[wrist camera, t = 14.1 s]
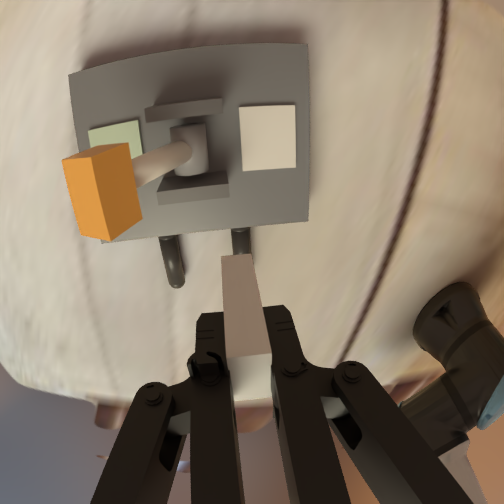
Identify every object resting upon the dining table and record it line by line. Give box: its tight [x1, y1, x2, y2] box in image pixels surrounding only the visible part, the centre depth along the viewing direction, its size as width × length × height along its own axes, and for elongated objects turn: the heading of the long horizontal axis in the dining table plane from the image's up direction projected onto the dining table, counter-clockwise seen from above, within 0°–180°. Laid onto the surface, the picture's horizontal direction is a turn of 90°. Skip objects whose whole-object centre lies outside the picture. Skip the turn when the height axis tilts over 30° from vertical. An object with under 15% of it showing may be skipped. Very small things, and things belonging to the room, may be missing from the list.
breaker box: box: [68, 43, 310, 288], centre depth 28 cm, size 22×26×7 cm
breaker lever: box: [62, 123, 209, 241], centre depth 21 cm, size 3×5×13 cm, turn 3°
